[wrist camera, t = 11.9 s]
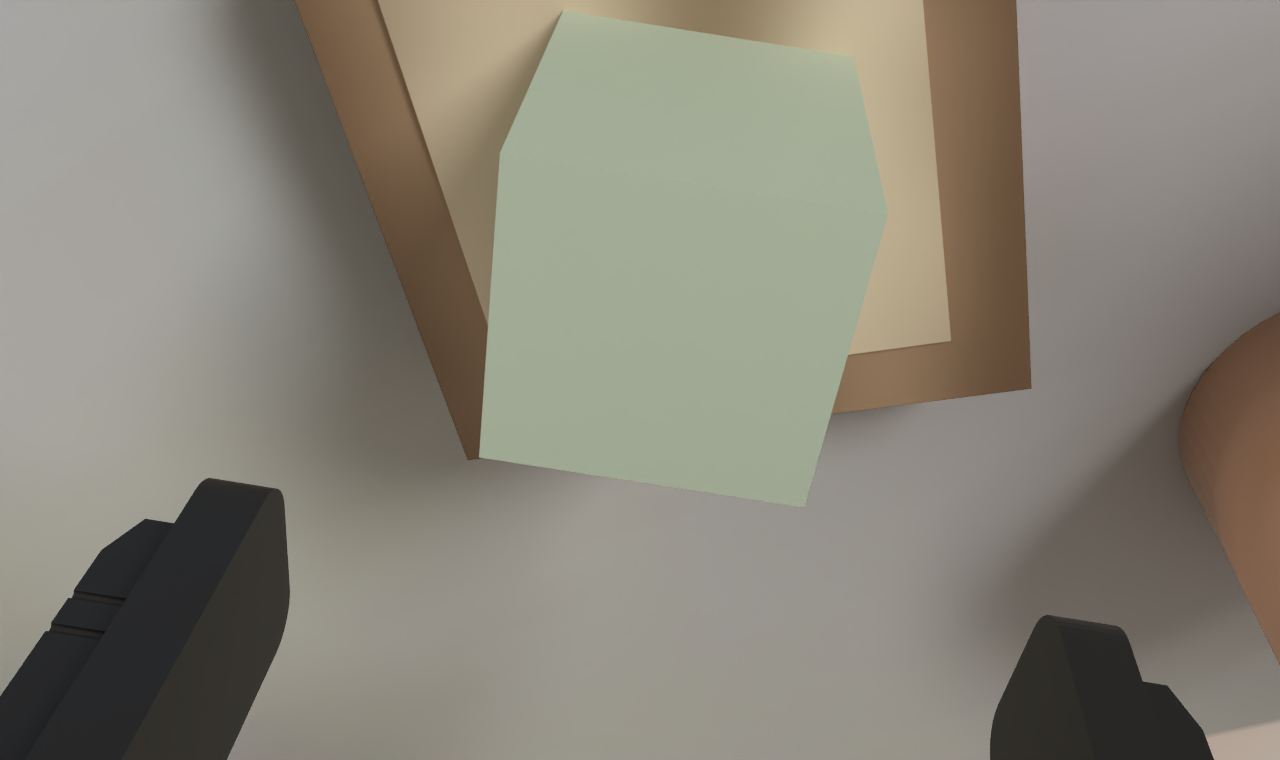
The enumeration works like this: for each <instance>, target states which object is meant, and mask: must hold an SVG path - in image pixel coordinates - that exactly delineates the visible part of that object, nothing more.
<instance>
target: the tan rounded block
mask: <svg viewBox="0 0 1280 760" xmlns="http://www.w3.org/2000/svg"><path fill="white" fill-rule="evenodd" d="M1179 447H1180V457H1181V460H1182V464H1183V467H1184V470H1185V472H1186V474H1187V477H1188V479H1189V481H1190V483H1191V485H1192V487H1193V489H1194V491H1195V493H1196V495H1197V497H1198V499H1199V501H1200V503H1201V505H1202V507H1203V509H1204V511H1205V513H1206V515H1207V517H1208V519H1209V521H1210V523H1211V525H1212V528H1213V530H1214V532H1215V534H1216V536H1217V538H1218V540H1219V542H1220V544H1221V546H1222V548H1223V550H1224V552H1225V554H1226V556H1227V558H1228V560H1229V562H1230V564H1231V566H1232V568H1233V570H1234V572H1235V574H1236V577H1237V579H1238V581H1239V583H1240V585H1241V587H1242V589H1243V591H1244V593H1245V595H1246V597H1247V599H1248V601H1249V603H1250V605H1251V607H1252V609H1253V611H1254V613H1255V615H1256V617H1257V619H1258V621H1259V623H1260V626H1261V628H1262V630H1263V632H1264V634H1265V636H1266V638H1267V640H1268V642H1269V644H1270V646H1271V648H1272V650H1273V652H1274V654H1275V656H1276V658H1277V660H1278V662H1279V664H1280V313H1278V314H1276V315H1274V316H1272V317H1270V318H1268V319H1267V320H1265V321H1263V322H1261V323H1260V324H1258V325H1257V326H1255V327H1254V328H1252V329H1251V330H1249V331H1248V332H1246V333H1245V334H1243V335H1242V336H1241V337H1240V338H1239V339H1237V340H1236V341H1235V342H1234V343H1233V344H1231V345H1230V346H1229V347H1228V348H1227V349H1226V350H1225V351H1224V352H1223V353H1222V354H1221V355H1220V356H1219V357H1218V358H1217V359H1216V360H1215V361H1214V362H1213V363H1212V364H1211V365H1210V367H1209V368H1208V369H1207V371H1206V372H1205V373H1204V374H1203V376H1202V377H1201V378H1200V380H1199V382H1198V383H1197V385H1196V387H1195V388H1194V390H1193V392H1192V393H1191V395H1190V398H1189V400H1188V402H1187V405H1186V407H1185V410H1184V413H1183V417H1182V421H1181V425H1180V435H1179Z"/></svg>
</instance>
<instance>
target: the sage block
mask: <svg viewBox="0 0 1280 760" xmlns="http://www.w3.org/2000/svg"><path fill="white" fill-rule="evenodd" d="M887 216H888V212H887V207H886V202H885V198H884V193H883V189H882V184H881V179H880V175H879V170H878V165H877V161H876V156H875V152H874V147H873V142H872V138H871V133H870V128H869V124H868V119H867V115H866V110H865V105H864V101H863V96H862V92H861V87H860V82H859V78H858V73H857V68H856V64H855V59H854V57H853V56H847V55H840V54H834V53H828V52H821V51H815V50H809V49H803V48H796V47H790V46H784V45H777V44H771V43H765V42H758V41H752V40H746V39H740V38H733V37H727V36H721V35H714V34H708V33H702V32H695V31H689V30H683V29H677V28H670V27H664V26H658V25H651V24H645V23H639V22H633V21H626V20H620V19H614V18H607V17H601V16H595V15H588V14H582V13H576V12H570V11H563V12H562V14H561V16H560V19H559V21H558V23H557V25H556V28H555V30H554V32H553V34H552V37H551V39H550V41H549V43H548V46H547V48H546V50H545V53H544V55H543V57H542V59H541V62H540V64H539V66H538V68H537V71H536V73H535V75H534V77H533V80H532V82H531V84H530V86H529V89H528V91H527V93H526V95H525V98H524V100H523V102H522V104H521V107H520V109H519V111H518V113H517V116H516V118H515V120H514V122H513V125H512V127H511V129H510V131H509V134H508V136H507V138H506V140H505V143H504V145H503V147H502V149H501V152H500V160H499V174H498V189H497V203H496V218H495V232H494V247H493V261H492V276H491V291H490V305H489V320H488V334H487V349H486V363H485V378H484V392H483V407H482V421H481V436H480V451H479V458H486V459H492V460H499V461H505V462H512V463H518V464H525V465H531V466H537V467H544V468H550V469H557V470H563V471H570V472H576V473H583V474H589V475H596V476H602V477H609V478H615V479H621V480H628V481H634V482H641V483H647V484H654V485H660V486H667V487H673V488H680V489H686V490H693V491H699V492H705V493H712V494H718V495H725V496H731V497H738V498H744V499H751V500H757V501H764V502H770V503H777V504H783V505H789V506H796V507H802V508H805V504H806V501H807V497H808V494H809V490H810V487H811V483H812V480H813V476H814V473H815V469H816V466H817V462H818V459H819V455H820V452H821V448H822V445H823V441H824V438H825V434H826V430H827V427H828V423H829V420H830V416H831V413H832V409H833V406H834V402H835V399H836V395H837V392H838V388H839V385H840V381H841V378H842V374H843V371H844V367H845V364H846V360H847V357H848V353H849V350H850V346H851V343H852V339H853V336H854V332H855V328H856V325H857V321H858V318H859V314H860V311H861V307H862V304H863V300H864V297H865V293H866V290H867V286H868V283H869V279H870V276H871V272H872V269H873V265H874V262H875V258H876V255H877V251H878V248H879V244H880V241H881V237H882V234H883V230H884V226H885V223H886V219H887Z"/></svg>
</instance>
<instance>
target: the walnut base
mask: <svg viewBox="0 0 1280 760" xmlns="http://www.w3.org/2000/svg"><path fill="white" fill-rule="evenodd" d="M295 3H296V5H297V8H298V11H299V13H300V16H301V19H302V21H303V24H304V27H305V29H306V32H307V34H308V37H309V40H310V42H311V45H312V48H313V50H314V53H315V56H316V58H317V61H318V64H319V66H320V69H321V72H322V74H323V77H324V80H325V82H326V85H327V88H328V90H329V93H330V95H331V98H332V101H333V103H334V106H335V109H336V111H337V114H338V117H339V119H340V122H341V125H342V127H343V130H344V133H345V135H346V138H347V141H348V143H349V146H350V149H351V151H352V154H353V156H354V159H355V162H356V164H357V167H358V170H359V172H360V175H361V178H362V180H363V183H364V186H365V188H366V191H367V194H368V196H369V199H370V202H371V204H372V207H373V210H374V212H375V215H376V218H377V220H378V223H379V225H380V228H381V231H382V233H383V236H384V239H385V241H386V244H387V247H388V249H389V252H390V255H391V257H392V260H393V263H394V265H395V268H396V271H397V273H398V276H399V279H400V281H401V284H402V286H403V289H404V292H405V294H406V297H407V300H408V302H409V305H410V308H411V310H412V313H413V316H414V318H415V321H416V324H417V326H418V329H419V332H420V334H421V337H422V340H423V342H424V345H425V348H426V350H427V353H428V355H429V358H430V361H431V363H432V366H433V369H434V371H435V374H436V377H437V379H438V382H439V385H440V387H441V390H442V393H443V395H444V398H445V401H446V403H447V406H448V409H449V411H450V414H451V416H452V419H453V422H454V424H455V427H456V430H457V432H458V435H459V438H460V440H461V443H462V446H463V448H464V451H465V454H466V456H467V459H468V460H472V459H480V458H479V451H480V436H481V421H482V407H483V392H484V378H485V363H486V349H487V334H488V320H489V305H490V291H491V276H492V261H493V247H494V232H495V218H496V203H497V189H498V174H499V160H500V152H501V149H502V147H503V145H504V143H505V140H506V138H507V136H508V134H509V131H510V129H511V127H512V125H513V122H514V120H515V118H516V116H517V113H518V111H519V109H520V107H521V104H522V102H523V100H524V98H525V95H526V93H527V91H528V89H529V86H530V84H531V82H532V80H533V77H534V75H535V73H536V71H537V68H538V66H539V64H540V62H541V59H542V57H543V55H544V53H545V50H546V48H547V46H548V43H549V41H550V39H551V37H552V34H553V32H554V30H555V28H556V25H557V23H558V21H559V19H560V16H561V14H562V12H563V11H570V12H576V13H582V14H588V15H595V16H601V17H607V18H614V19H620V20H626V21H633V22H639V23H645V24H651V25H658V26H664V27H670V28H677V29H683V30H689V31H695V32H702V33H708V34H714V35H721V36H727V37H733V38H740V39H746V40H752V41H758V42H765V43H771V44H777V45H784V46H790V47H796V48H803V49H809V50H815V51H821V52H828V53H834V54H840V55H847V56H853V57H854V59H855V64H856V68H857V73H858V78H859V82H860V87H861V92H862V96H863V101H864V105H865V110H866V115H867V119H868V124H869V128H870V133H871V138H872V142H873V147H874V152H875V156H876V161H877V165H878V170H879V175H880V179H881V184H882V189H883V193H884V198H885V202H886V207H887V212H888V216H887V219H886V223H885V226H884V230H883V234H882V237H881V241H880V244H879V248H878V251H877V255H876V258H875V262H874V265H873V269H872V272H871V276H870V279H869V283H868V286H867V290H866V293H865V297H864V300H863V304H862V307H861V311H860V314H859V318H858V321H857V325H856V328H855V332H854V336H853V339H852V343H851V346H850V350H849V353H848V357H847V360H846V364H845V367H844V371H843V374H842V378H841V381H840V385H839V388H838V392H837V395H836V399H835V402H834V406H833V409H832V413H831V414H835V413H843V412H851V411H859V410H866V409H874V408H882V407H890V406H898V405H906V404H914V403H922V402H930V401H937V400H945V399H953V398H961V397H969V396H977V395H985V394H993V393H1000V392H1008V391H1016V390H1024V389H1031V367H1030V341H1029V316H1028V290H1027V265H1026V239H1025V214H1024V188H1023V163H1022V137H1021V112H1020V86H1019V61H1018V35H1017V10H1016V0H295Z"/></svg>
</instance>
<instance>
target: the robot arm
mask: <svg viewBox="0 0 1280 760" xmlns="http://www.w3.org/2000/svg"><path fill="white" fill-rule="evenodd" d="M289 598H290V586H289V570H288V555H287V539H286V523H285V508H284V499H283V495H282V493H281V491H280V490H279V489H275V488H269V487H262V486H256V485H250V484H244V483H237V482H231V481H225V480H219V479H212V478H208V479H205V480H204V481H202V482H201V483H200V484H199V486H198V487H197V488H196V490H195V491H194V493H193V495H192V496H191V498H190V499H189V501H188V503H187V504H186V506H185V507H184V509H183V510H182V512H181V514H180V515H179V517H178V518H177V520H176V521H175V523H168V522H162V521H156V520H149V519H144V520H143V521H142V522H140V523H139V524H137V525H136V526H135V527H133V528H132V529H130V530H129V531H128V532H126V533H125V534H123V535H122V536H121V537H119V538H118V539H116V540H115V541H114V542H112V543H111V544H109V545H108V546H107V547H105V548H104V549H102V550H101V552H100V553H99V554H98V556H97V557H96V559H95V560H94V562H93V563H92V565H91V566H90V567H89V569H88V570H87V572H86V573H85V575H84V576H83V578H82V579H81V580H80V582H79V583H78V585H77V586H76V588H75V589H74V595H73V597H72V598H68V599H67V601H66V602H65V604H64V605H63V607H62V608H61V609H60V611H59V612H58V614H57V615H56V617H55V618H54V620H53V621H52V622H51V628H50V630H49V632H48V631H45V633H44V634H43V635H42V637H41V638H40V640H39V641H38V643H37V644H36V646H35V647H34V648H33V650H32V651H31V653H30V654H29V656H28V657H27V659H26V660H25V661H24V663H23V664H22V666H21V667H20V669H19V670H18V672H17V673H16V674H15V676H14V677H13V679H12V680H11V682H10V683H9V685H8V686H7V687H6V689H5V690H4V692H3V693H2V695H1V696H0V760H227V758H228V756H229V754H230V751H231V749H232V747H233V745H234V743H235V741H236V738H237V736H238V734H239V732H240V730H241V728H242V725H243V723H244V721H245V719H246V717H247V715H248V712H249V710H250V708H251V706H252V704H253V702H254V700H255V697H256V695H257V693H258V691H259V689H260V687H261V684H262V682H263V680H264V678H265V676H266V674H267V671H268V669H269V667H270V665H271V663H272V661H273V658H274V656H275V654H276V652H277V649H278V647H279V644H280V642H281V639H282V635H283V632H284V628H285V624H286V620H287V615H288V608H289ZM990 760H1214V759H1213V756H1212V754H1211V751H1210V748H1209V745H1208V743H1207V740H1206V737H1205V735H1204V732H1203V730H1202V729H1201V727H1200V726H1199V725H1198V724H1197V722H1196V721H1195V720H1194V719H1193V717H1192V716H1191V715H1190V714H1189V712H1188V711H1187V710H1186V709H1185V707H1184V706H1183V705H1182V704H1181V702H1180V701H1179V700H1178V699H1177V697H1176V696H1175V695H1174V694H1173V692H1172V691H1171V690H1170V689H1169V687H1168V686H1166V685H1160V684H1154V683H1148V682H1143V681H1142V678H1141V675H1140V672H1139V669H1138V666H1137V663H1136V660H1135V658H1134V655H1133V652H1132V649H1131V646H1130V643H1129V640H1128V638H1127V636H1126V634H1125V632H1124V631H1123V630H1122V629H1121V628H1120V627H1118V626H1113V625H1107V624H1101V623H1095V622H1088V621H1082V620H1076V619H1070V618H1063V617H1057V616H1051V615H1045V616H1043V617H1042V618H1041V619H1040V620H1039V621H1038V622H1037V624H1036V626H1035V627H1034V629H1033V632H1032V634H1031V636H1030V638H1029V640H1028V642H1027V644H1026V646H1025V649H1024V651H1023V653H1022V655H1021V657H1020V659H1019V661H1018V664H1017V666H1016V668H1015V670H1014V672H1013V674H1012V676H1011V679H1010V681H1009V683H1008V685H1007V687H1006V689H1005V691H1004V693H1003V696H1002V698H1001V700H1000V702H999V704H998V707H997V709H996V712H995V715H994V720H993V724H992V730H991V740H990Z"/></svg>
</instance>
